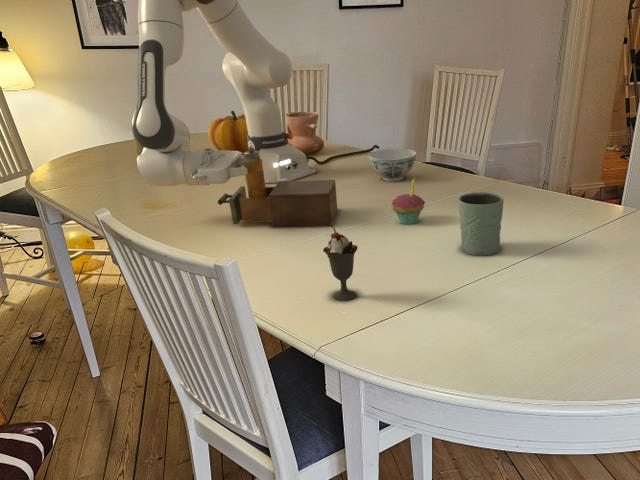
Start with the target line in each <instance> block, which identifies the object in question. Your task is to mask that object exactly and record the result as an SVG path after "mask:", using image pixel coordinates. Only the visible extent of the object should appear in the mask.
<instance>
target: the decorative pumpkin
mask: <svg viewBox="0 0 640 480" xmlns="http://www.w3.org/2000/svg"><path fill="white" fill-rule="evenodd" d="M230 114H231V115H226V116H223V118H222V117H219V118H216V119H214V120H213V121H212V122H211V123H210V124H209V127H208V129H207V136H208V139H209V142H210V143H211V145H212V147H214V148H215V149H216V150H217V151H219V150H224V151H239V152H242V154H244V152H247V151H248V148H249V147H248V139H247V135H248V130H247V124H246V118H245V114H240V115H236V113H235V111H234V110H231V111H230Z"/></svg>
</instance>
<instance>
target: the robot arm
mask: <svg viewBox="0 0 640 480" xmlns="http://www.w3.org/2000/svg"><path fill="white" fill-rule="evenodd" d="M137 2H138V3H137V27H138V54H137V98H136V99H137V101H136V105H135V110H134V113H133V116H132V120H131V131H132V134H133V138H134V137H135V139H136V140H137V141H138V142H139V143H140V144H141V145H142V146H144V147H145V148H144V150H143V151H142V153H141V154H140V155H139V156H138V155H137V156H138V157H137V158H136V166H137V170H138V173H139V176H140V177H141V178H142V180H143V181H144V182H145V183H147V184H149V185H151V186H155V187H156V186H157V187H179V186H180V185H186V186H210V185H211V184H213V185H220V184H226V183H228V181H229V180H231V178H236V177H240V176H245V175H247V174H248V173H249V170H248V167H244V162H243V161H244V160H245V159H244V153H242V152H239V151H224V150H215V149H214V148H205V149H199V150H198V149H196V150H190V137H191V136H190V130H189V127H188V126H187V125H186V123H184V121H183V120H181V119H180V118H178V117H177V116H174V115H172V114H170V112H169V111H168V109H167V106H166V101H165V100H166V99H165V97H166V94H165V93H166V91H165V90H166V89H165V88H166V87H165V86H166V80H165V79H166V78H165V77H166V71H167V69H168V67H169V66H173V65H175V64H176V63H178V62H179V61H180V60H181V59H182V57H183V55H184V49H185V29H184V28H185V27H184V19H183V13H185V12H190V11H192V10H194V9H196V10H197V11H198V13H199V14H200V16H201V18H202V19H203V21H204V23H205V24H206V26H207V27H208V29H209V30H210V31H211V33H212V35H213V36H214V38H215V39H216V41H217V43H218V44H219V45H220V47H222V48H223V49H224V50H226V51H228V52H227V53H226V54H225V56H224V57H223V60H222V71H223V74H224V77H225V78H226V80H228V82H230V84H231V85H232V86H233V88H234V89H235V91H236V93H237V96H238V98H239V101H240V103H241V105H242V109H243V113H244V115H245V118H246V124H247V130H248V135H247V139H248V147H253V148H254V151H259V153H260V159H262V164H263V171H264V179H265V184H273V183H274V184H275V183H278V182H279V181H296V180H299V179H301V178H304V177H306V176H310V175H313V174H315V173H316V172H317V171H316V168H315V167H313V166H311V165H309V161H310V160H312V161H314V162H315V163H316V164H318V165H325V164H326V163H328V162H329V161H331V160H334V159H339V158H343V157H349V156H354V155H361V154H367V153H371V152H373V151H374V150H375V149H377V150H380V146H379V145H377V144H374V145H373V146H372V147H371V148H368V149H363V150H358V151H352V152H346V153H341V154H337V155H332V156H329V157H327V158H326V159H324V160H322V161H320V160H318V159H317V158H316V157H314V156H311V155H305V154H304V153H303V152H302V151H300V150H298V149H297V148H295V147H294V146H292V145H291V144H289V142H288V140H289V139H291V140H292V139H293V138H294V137H293V136H294V134H293V133H288V132H287V133H286V132H284V130H283V125H282V115H281V108H280V106H279V105H278V103H277V102H276V101H275V100H274V99H273V98H272V96H271V94H270V92H269V90H268V89H273V90H274V89H278V88H281V87H285V86H286V85H288V84H289V82H290V81H291V78H292V75H293V65H292V62H291V59H290V58H289V56H288V55H287V54H286V53H284V52H282V51H281V50H280V49H278V48H277V47H276V46H274V45H273V44H272V43H271V42H269V40H267V38H266V37H265V36H263V34H262V33H261V32H260V31H259V30H258V29H257V27H255V26H254V24H253V23H252V22H251V20H250V18H249V17H248V15H247V14H246V12H245V11H244V9H243V7H242V6H241V4H240V2H239V1H238V0H138V1H137Z"/></svg>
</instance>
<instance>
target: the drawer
mask: <svg viewBox="0 0 640 480" xmlns="http://www.w3.org/2000/svg"><path fill="white" fill-rule="evenodd" d="M274 187H275V186H266V193H267V197H261V198H249V197H247V192H246V186H244V185H242V186H239V187H238V189H237V190H236V191H235V192H234V193H233V194H228V193H224V194H223V195H221V197H220V198H219V199H218V200H217V204H218V205H219V206H222V205H223V204H229V208H230V213H231V219H232V225H239V223H240V222H241V221H242V223H266V222H267V223H269V222H270V223H271V222H272V216H271V209H270V201H269V194H270V193H271V192H272V190H273V189H274ZM228 198H229V199H228Z"/></svg>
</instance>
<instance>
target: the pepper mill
mask: <svg viewBox="0 0 640 480" xmlns="http://www.w3.org/2000/svg"><path fill="white" fill-rule="evenodd" d="M243 157H244V159H245V160H244V161H243V162H244V166H243V167H248V170H249V173H248V174H247V175H244V176H245V181H246V182H245V183H246V189H247V195H248V198H261V197H267V193H266V187H267V186H266V183H265V179H264V171H263V164H262V159H260V153H259V151H254V148H253V147H249V148H248V151H247V152H244V153H243Z"/></svg>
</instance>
